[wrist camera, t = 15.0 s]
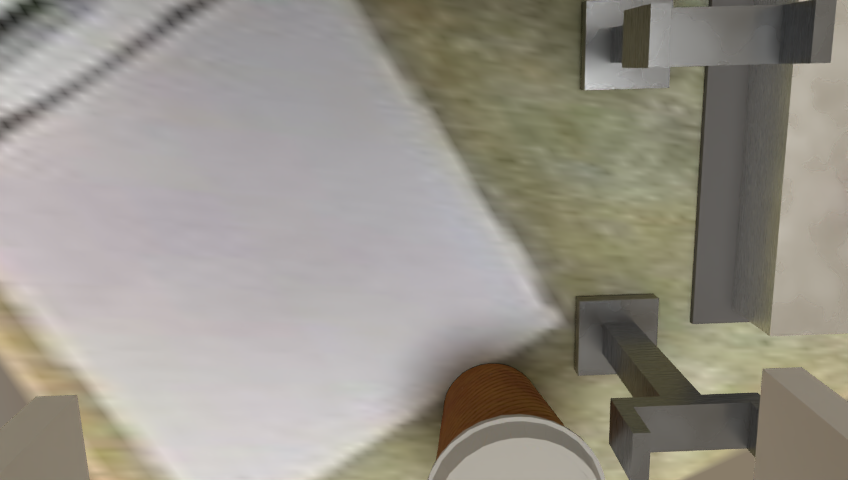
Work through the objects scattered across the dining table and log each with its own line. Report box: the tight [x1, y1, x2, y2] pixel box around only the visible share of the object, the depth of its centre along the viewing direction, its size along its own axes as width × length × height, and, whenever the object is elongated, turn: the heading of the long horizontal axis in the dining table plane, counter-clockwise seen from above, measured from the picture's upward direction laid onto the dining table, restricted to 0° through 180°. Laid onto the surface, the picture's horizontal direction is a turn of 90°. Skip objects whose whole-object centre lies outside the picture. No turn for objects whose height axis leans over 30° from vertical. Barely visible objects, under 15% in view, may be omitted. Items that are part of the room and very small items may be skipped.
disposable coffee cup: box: [428, 364, 605, 480], centre depth 43 cm, size 10×10×12 cm
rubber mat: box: [690, 0, 754, 324], centre depth 44 cm, size 26×10×1 cm, turn 2°
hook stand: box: [575, 0, 837, 480], centre depth 38 cm, size 23×7×16 cm, turn 2°
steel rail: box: [732, 0, 848, 336], centre depth 42 cm, size 24×5×5 cm, turn 2°
